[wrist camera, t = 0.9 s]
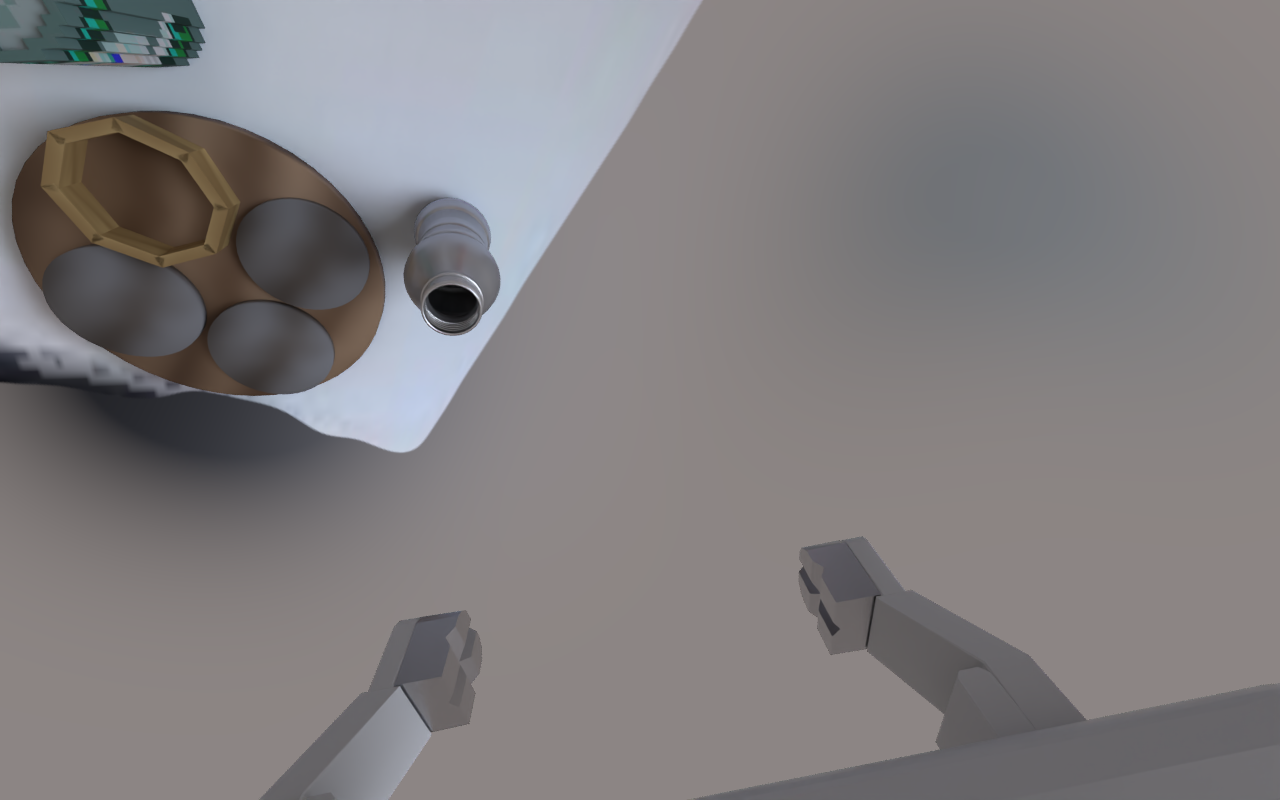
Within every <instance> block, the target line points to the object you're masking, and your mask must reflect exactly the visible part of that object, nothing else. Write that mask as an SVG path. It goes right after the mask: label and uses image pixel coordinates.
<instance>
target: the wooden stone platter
mask: <svg viewBox="0 0 1280 800" xmlns="http://www.w3.org/2000/svg"><path fill="white" fill-rule="evenodd" d="M12 222H13V227H14V232H15V237H16V242H17V244H18V247H19V250H20V252H21V255H22V257H23V260H24V262H25V264H26V266H27V268H28V269H29V271H30V273H31V275H32V276H33V278H34V280H35V282H36V283H37V284H38V286H39V287H40V288H41V290H42V291H43V293H44V296H45V299H46V301H47V303H48V305H49V307H50V308H51V310H52V311H53V312H54V314H55V315H56V316H57V317H58V318H59V319H60V320H61V322H62V323H64V324H65V325H66V326H67V327H68V328H69V329H71V330H72V331H73V332H75V333H76V334H78V335H79V336H81V337H83V338H84V339H86V340H88V341H90V342H92V343H94V344H96V345H98V346H100V347H103V348H104V349H106V350H108V351H109V352H111V353H113V354H114V355H116V356H118V357H119V358H121V359H123V360H124V361H126V362H128V363H130V364H132V365H134V366H136V367H138V368H140V369H143V370H145V371H147V372H149V373H151V374H154V375H157V376H159V377H162V378H164V379H167V380H169V381H172V382H176V383H179V384H182V385H186V386H189V387H192V388H197V389H202V390H206V391H211V392H217V393H224V394H232V395H249V396H261V395H277V394H293V393H299V392H303V391H306V390H309V389H311V388H313V387H315V386H317V385H319V384H322V383H324V382H326V381H328V380H330V379H332V378H334V377H336V376H338V375H339V374H341V373H342V372H343V371H345V370H346V369H348V368H349V367H350V366H352V365H353V364H354V363H355V362H356V361H357V360H358V359H359V358H360V357H361V356H362V354H363V353H364V352H365V351H366V349H367V348H368V347H369V345H370V343H371V341H372V340H373V338H374V336H375V334H376V331H377V328H378V325H379V322H380V319H381V316H382V313H383V308H384V302H385V279H384V272H383V266H382V263H381V260H380V256H379V253H378V250H377V248H376V246H375V243H374V241H373V239H372V237H371V235H370V233H369V231H368V229H367V228H366V226H365V224H364V223H363V221H362V220H361V218H360V216H359V215H358V214H357V212H356V211H355V210H354V209H353V207H352V206H351V205H350V203H349V202H348V201H347V200H346V198H345V197H344V196H343V195H342V194H341V193H340V192H339V191H338V190H337V189H336V188H335V187H334V186H333V185H332V184H331V183H330V182H329V181H328V180H327V179H325V178H324V177H323V176H322V175H321V174H320V173H318V172H317V171H316V170H315V169H314V168H313V167H311V166H310V165H308V164H307V163H305V162H304V161H303V160H301V159H300V158H298V157H297V156H296V155H294V154H293V153H291V152H289V151H288V150H286V149H284V148H282V147H281V146H279V145H277V144H275V143H274V142H272V141H270V140H268V139H266V138H264V137H261V136H259V135H257V134H255V133H253V132H250V131H248V130H246V129H243V128H240V127H237V126H234V125H231V124H229V123H226V122H223V121H220V120H216V119H211V118H207V117H203V116H198V115H194V114H186V113H178V112H170V111H138V112H129V113H121V114H113V115H106V116H99V117H96V118H92V119H89V120H85V121H82V122H79V123H75V124H73V125H71V126H69V127H65V128H60V129H55V130H51V131H48V132H47V140H46V141H45V142H44V143H42V144H41V145H40V146H38V148H37V149H36V150H35V151H34V152H33V154H32V155H31V156H30V157H29V158H28V160H27V161H26V162H25V164H24V166H23V168H22V170H21V172H20V174H19V176H18V178H17V180H16V184H15V189H14V193H13V198H12Z"/></svg>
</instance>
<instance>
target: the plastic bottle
mask: <svg viewBox="0 0 1280 800" xmlns="http://www.w3.org/2000/svg"><path fill="white" fill-rule="evenodd" d="M414 238H415V241H416V245H417V246H415V248H414V249H413V250H412V252H411V253H410V255H409V257H408V259H407V262H406V264H405V268H404V284H405V287H406V290H407V293H408V295H409V296H410V298H411V300H412V301H413V302H414V304H415V305H416V306H417V307H418V308H419V309H420V310H421V313H422V316H423V319H424V320H425V322H426V323H427V324H428V326H429V327H431V328H432V329H433V330H435V331H436V332H438V333H441V334H444V335H450V336H456V335H462V334H465V333H467V332H469V331H471V330H472V329H473V328H474V327H476V325H477V324H478V323H479V321H480V319H481V317H482V315H483V314H484V313H485V312H486V311H487V310H488V309H489V308H490V307H491V305H492V304H493V303H494V302H495V300H496V298H497V296H498V293H499V289H500V273H499V269H498V266H497V264H496V261H495V260H494V258H493V256H492V255H491V253H490V252H489V248H490V243H491V233H490V228H489V225H488V223H487V221H486V219H485V218H484V216H483V215H482V214H481V212H480V211H479V210H478V209H476V208H475V207H474V206H472V205H471V204H469V203H467V202H465V201H463V200H460V199H455V198H444V199H439V200H436V201H434V202H432V203H430V204H428V205H427V206H426V207H425V208H424V209H422V211H421V212H420V213H419V215H418V217H417V219H416V222H415V226H414Z"/></svg>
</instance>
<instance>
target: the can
mask: <svg viewBox="0 0 1280 800" xmlns="http://www.w3.org/2000/svg"><path fill="white" fill-rule="evenodd" d="M201 28H205V27H204V25H203V23H202V21H201V19H200V17H199V15H198V12H197V10H196V8H195V6H194V4H193V2H192V0H0V63H26V64H59V65H93V66H127V67H172V66H189V63H188V61H187V59H186V58H199V56H198V54H197V52H196V51H201V50H202V49H201V47H200V45H199V43H205V41H204V39H203V37H202V35H201V33H200V31H199V29H201Z"/></svg>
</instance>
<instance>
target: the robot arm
mask: <svg viewBox="0 0 1280 800" xmlns="http://www.w3.org/2000/svg"><path fill="white" fill-rule="evenodd" d="M800 561H801V563H802V565H803V568H802V569H801V570H800V571H799V585H800V590H801V594H802V597H803V600H804V602H805V604H806V606H807V609H808V611H809V612H810V613H812V614H813V615H815V616H816V617H818V625H817V629H818V631H819V633H820V635H821V637H822V639H823V641H824V643H825V645H826V647H827V649H828V651H829V653H830V654H831V655H833V654H839V653H845V652H851V651H858V650H864V649H867V652H869V653H870V654H871V655H872V656H874V657H875V658H876V659H877V660H878V661H880V662H881V663H882V664H883V665H885V666H886V667H887V668H888V669H890V670H891V671H892V672H893V673H894V674H896V675H897V676H898V677H899V678H901V679H902V680H903V681H904V682H906V683H907V684H908V685H909V686H911V687H912V688H913V689H914V690H915V691H917V692H918V693H919V694H920V695H921V696H923V697H924V698H925V699H926V700H928V701H929V702H930V703H931V704H933V705H934V706H935V707H936V708H937V709H939V710H940V711H941V712H942V713H943V714H944V718H943V721H942V724H941V727H940V730H939V733H938V736H937V739H936V743H937V745H938V747H939V748H940V750H935V751H930V752H926V753H920V754H915V755H910V756H905V757H900V758H895V759H890V760H885V761H880V762H875V763H871V764H865V765H860V766H855V767H850V768H845V769H840V770H835V771H830V772H825V773H820V774H815V775H810V776H805V777H800V778H795V779H790V780H785V781H780V782H775V783H770V784H765V785H760V786H754V787H749V788H745V789H740V790H734V791H729V792H724V793H720V794H714V795H710V796H705V797H699V798H694V799H689V800H1280V683H1279V684H1268V685H1260V686H1256V687H1251V688H1245V689H1241V690H1236V691H1231V692H1227V693H1221V694H1216V695H1211V696H1206V697H1201V698H1196V699H1191V700H1187V701H1181V702H1176V703H1171V704H1166V705H1161V706H1156V707H1151V708H1146V709H1141V710H1136V711H1131V712H1126V713H1121V714H1116V715H1111V716H1105V717H1101V718H1096V719H1090V720H1086V719H1085V718H1084V716H1083V715H1082V714H1081V713H1080V712H1079V711H1078V710H1077V709H1076V707H1074V705H1073V704H1072V703H1071V702H1070V701H1069V700H1068V698H1067V697H1066V696H1065V695H1064V694H1063V693H1062V692H1061V691H1060V690H1059V688H1058V687H1057V686H1056V685H1055V684H1054V683H1053V682H1052V680H1051V679H1050V678H1049V677H1048V676H1047V675H1046V674H1045V673H1044V672H1043V670H1042V669H1041V668H1040V667H1039V666H1038V665H1037V664H1036V662H1035V661H1034V660H1033V659H1032V658H1031V657H1030V656H1029V655H1028V654H1026V653H1024V652H1022V651H1020V650H1019V649H1017V648H1015V647H1013V646H1011V645H1010V644H1008V643H1006V642H1004V641H1002V640H1001V639H999V638H997V637H995V636H994V635H992V634H990V633H988V632H986V631H985V630H983V629H981V628H979V627H977V626H976V625H974V624H972V623H970V622H968V621H967V620H965V619H963V618H961V617H959V616H957V615H956V614H954V613H952V612H950V611H949V610H947V609H945V608H943V607H941V606H940V605H938V604H936V603H934V602H932V601H931V600H929V599H927V598H925V597H923V596H922V595H920V594H918V593H916V592H915V591H913V590H908V591H905V590H904V588H903V587H902V586H901V584H900V583H899V582H898V580H897V579H896V578H895V576H894V575H893V574H892V572H891V571H890V570H889V568H888V567H887V566H886V564H885V563H884V561H883V560H882V559H881V558H880V556H879V555H878V554H877V552H876V551H875V549H874V548H873V547H872V545H871V544H870V543H869V542H868V540H867V539H866V538H864V537H857V538H852V539H846V540H842V541H840V540H839V541H834V542H828V543H824V544H818V545H813V546H808V547H804V548H801V550H800ZM470 621H471V619H470V617H469V615H468V613H467V611H457V612H451V613H444V614H438V615H432V616H425V617H420V618H414V619H408V620H402V621H399V622H398V623H397V624H396V626H395V627H394V628H393V631H392V633H391V636H390V638H389V641H388V643H387V646H386V648H385V651H384V653H383V656H382V658H381V660H380V663H379V665H378V668H377V670H376V673H375V675H374V678H373V680H372V683H371V685H370V688H369V690H368V692H364V693H361V694H360V695H359V696H358V697H357V698H356V699H355V700H354V701H353V702H352V703H351V704H350V705H349V707H347V709H346V710H345V711H344V712H343V713H342V714H341V715H340V716H339V717H338V718H337V719H336V720H335V721H334V722H333V723H332V724H331V725H330V726H329V727H328V728H327V729H326V730H325V732H324V733H323V734H322V735H321V736H320V737H319V738H318V739H317V740H316V741H315V742H314V743H313V744H312V745H311V746H310V747H309V748H308V749H307V750H306V751H305V752H304V753H303V754H302V755H301V756H300V758H299V759H298V760H297V761H296V762H295V763H294V764H293V765H292V766H291V767H290V768H289V769H288V770H287V771H286V772H285V773H284V774H283V775H282V776H281V777H280V778H279V779H278V780H277V782H276V783H275V784H274V785H273V786H272V787H271V788H270V789H269V790H268V791H267V792H266V793H265V794H264V795H263V796H262V797H261V798H260V799H259V800H388V799H389V798H390V796H391V795H392V793H393V792H394V790H395V789H396V787H397V786H398V784H399V783H400V781H401V780H402V778H403V777H404V775H405V774H406V772H407V771H408V769H409V768H410V766H411V765H412V763H413V762H414V760H415V759H416V757H417V756H418V754H419V753H420V751H421V750H422V748H423V747H424V745H425V744H426V742H427V741H428V739H429V738H430V736H431V733H430V732H435V731H439V730H444V729H448V728H453V727H457V726H462V725H466V724H469V722H470V718H471V713H472V708H473V702H474V698H475V691H474V689H473V687H472V686H471V683H472V682H473V681H474V680H475V678H476V677H477V676H478V674H479V672H480V667H481V662H482V647H481V642H480V638H479V636H478V633H477V631H475V630H473V629H471V628H469V625H470Z"/></svg>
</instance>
